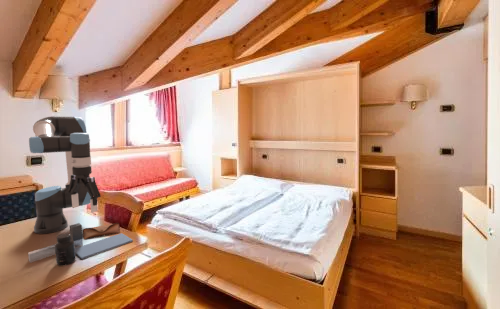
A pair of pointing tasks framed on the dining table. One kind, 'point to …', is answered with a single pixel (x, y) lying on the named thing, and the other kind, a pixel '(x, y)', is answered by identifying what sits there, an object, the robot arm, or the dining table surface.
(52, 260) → the dining table surface
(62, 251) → the supplement bottle
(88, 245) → the mat
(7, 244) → the dining table surface
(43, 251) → the grey mallet
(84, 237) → the sunglasses case
